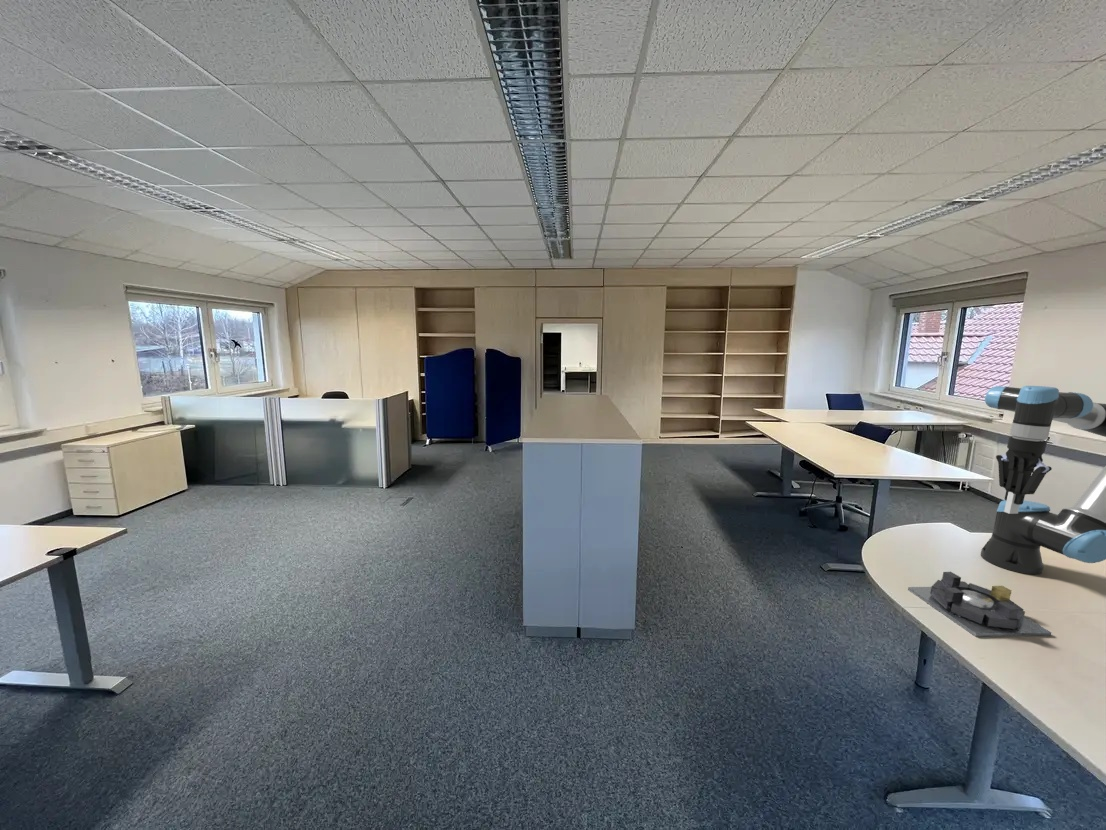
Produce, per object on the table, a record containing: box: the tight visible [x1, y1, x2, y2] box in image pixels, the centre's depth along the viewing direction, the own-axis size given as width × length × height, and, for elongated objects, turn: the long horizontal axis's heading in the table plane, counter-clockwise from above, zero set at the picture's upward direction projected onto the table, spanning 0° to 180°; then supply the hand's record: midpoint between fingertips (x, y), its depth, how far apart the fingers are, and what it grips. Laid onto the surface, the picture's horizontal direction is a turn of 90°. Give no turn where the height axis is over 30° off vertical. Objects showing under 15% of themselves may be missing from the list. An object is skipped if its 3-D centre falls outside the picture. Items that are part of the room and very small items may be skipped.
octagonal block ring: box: [930, 571, 1026, 629], centre depth 122 cm, size 18×18×6 cm
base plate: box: [907, 586, 1052, 638], centre depth 122 cm, size 21×21×4 cm
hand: (1010, 512), depth 128 cm, fingers closed
